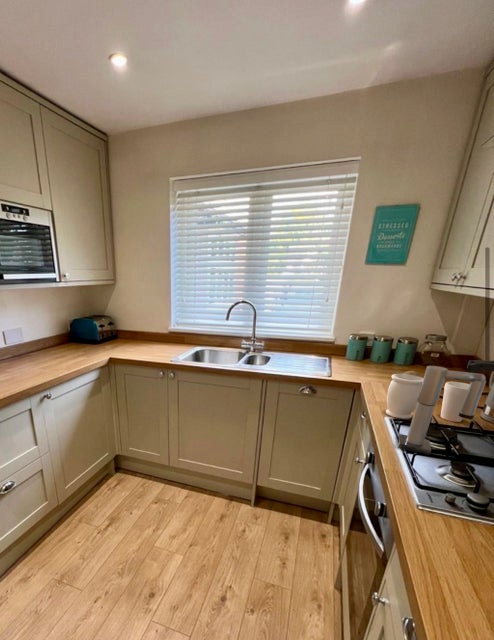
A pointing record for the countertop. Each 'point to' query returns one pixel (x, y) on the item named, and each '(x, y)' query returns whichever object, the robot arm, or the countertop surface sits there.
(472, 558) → the countertop surface
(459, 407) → the foam cup
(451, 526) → the countertop surface
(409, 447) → the tap base
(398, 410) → the jar
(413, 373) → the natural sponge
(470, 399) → the spout
